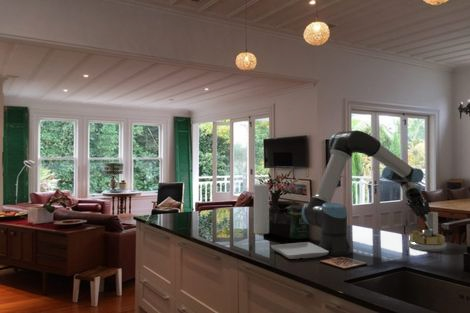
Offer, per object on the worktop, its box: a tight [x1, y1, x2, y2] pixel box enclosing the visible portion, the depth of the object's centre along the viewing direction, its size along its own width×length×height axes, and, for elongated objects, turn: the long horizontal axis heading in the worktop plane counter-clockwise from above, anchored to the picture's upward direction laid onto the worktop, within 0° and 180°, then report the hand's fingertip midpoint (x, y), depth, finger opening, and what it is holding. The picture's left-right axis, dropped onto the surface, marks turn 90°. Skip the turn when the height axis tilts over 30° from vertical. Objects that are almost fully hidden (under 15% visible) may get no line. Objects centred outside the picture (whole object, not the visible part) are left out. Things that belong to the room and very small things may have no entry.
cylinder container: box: [253, 183, 270, 235], centre depth 237 cm, size 9×9×30 cm
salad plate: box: [270, 241, 329, 260], centre depth 182 cm, size 21×21×3 cm
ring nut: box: [409, 211, 446, 244], centre depth 195 cm, size 16×15×14 cm
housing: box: [408, 228, 447, 253], centre depth 194 cm, size 17×17×9 cm
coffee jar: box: [289, 205, 308, 240], centre depth 220 cm, size 10×8×19 cm
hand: (430, 225), depth 202 cm, fingers closed
